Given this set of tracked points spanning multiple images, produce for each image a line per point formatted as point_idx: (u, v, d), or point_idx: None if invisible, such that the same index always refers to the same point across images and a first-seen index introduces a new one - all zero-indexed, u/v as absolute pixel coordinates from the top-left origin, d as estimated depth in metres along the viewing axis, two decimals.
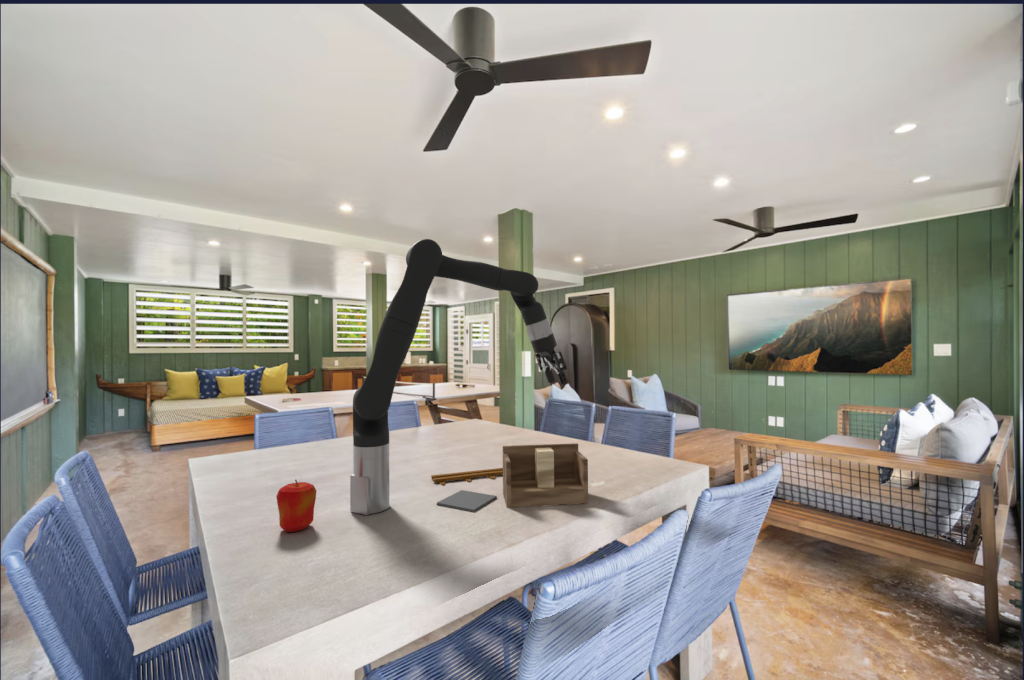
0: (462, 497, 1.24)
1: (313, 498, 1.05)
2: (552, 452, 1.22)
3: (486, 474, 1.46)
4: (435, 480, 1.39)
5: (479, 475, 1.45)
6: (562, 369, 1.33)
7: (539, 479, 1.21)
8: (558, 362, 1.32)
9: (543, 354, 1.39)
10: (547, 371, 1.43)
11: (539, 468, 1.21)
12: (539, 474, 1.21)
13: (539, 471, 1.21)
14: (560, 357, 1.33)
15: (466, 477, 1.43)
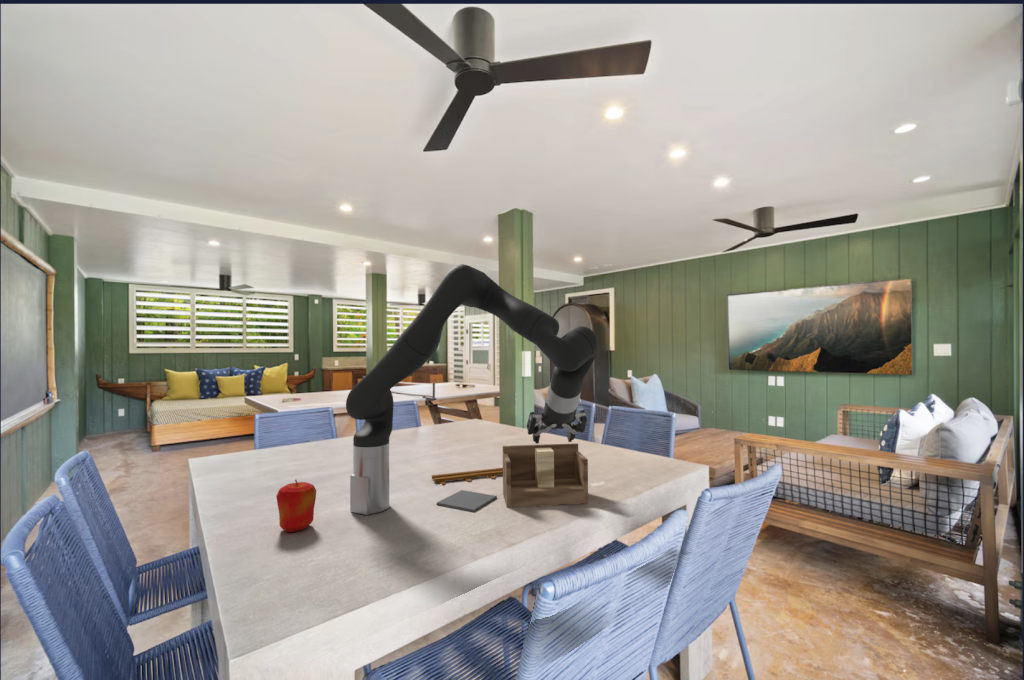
0: (462, 497, 1.24)
1: (313, 498, 1.05)
2: (552, 452, 1.22)
3: (486, 474, 1.46)
4: (435, 480, 1.39)
5: (479, 475, 1.45)
6: (527, 427, 1.09)
7: (539, 479, 1.21)
8: (528, 420, 1.07)
9: None
10: None
11: (539, 468, 1.21)
12: (539, 474, 1.21)
13: (539, 471, 1.21)
14: (530, 421, 1.06)
15: (466, 477, 1.43)
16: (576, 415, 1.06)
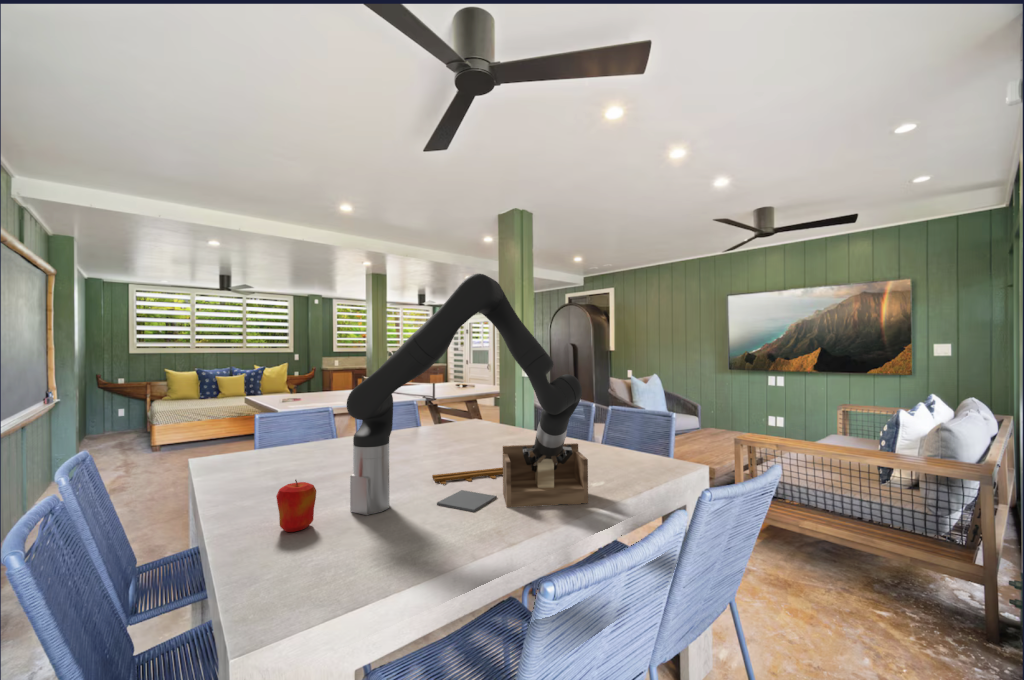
0: (462, 497, 1.24)
1: (313, 498, 1.05)
2: None
3: (487, 474, 1.46)
4: (436, 480, 1.40)
5: (480, 475, 1.45)
6: None
7: (539, 479, 1.21)
8: None
9: None
10: None
11: (539, 468, 1.21)
12: (539, 474, 1.21)
13: (539, 471, 1.21)
14: None
15: (467, 477, 1.44)
16: (564, 448, 1.19)
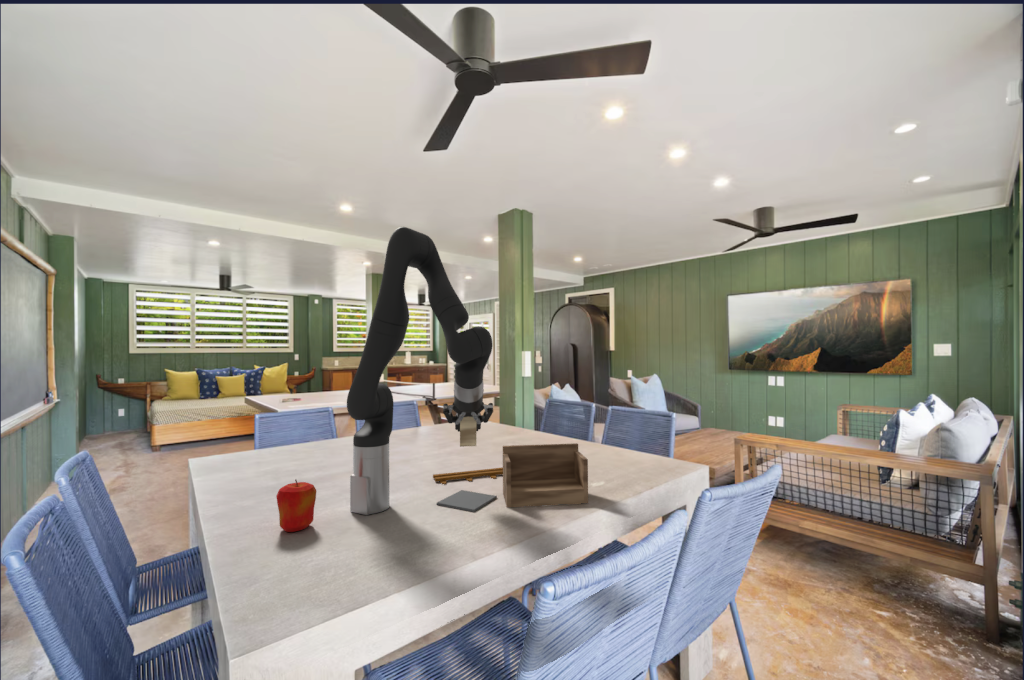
0: (462, 497, 1.24)
1: (313, 498, 1.05)
2: None
3: (487, 473, 1.46)
4: (436, 479, 1.40)
5: (480, 474, 1.46)
6: None
7: (461, 437, 1.21)
8: None
9: None
10: None
11: (461, 426, 1.21)
12: (461, 432, 1.21)
13: (461, 429, 1.21)
14: None
15: (467, 476, 1.44)
16: (485, 406, 1.18)
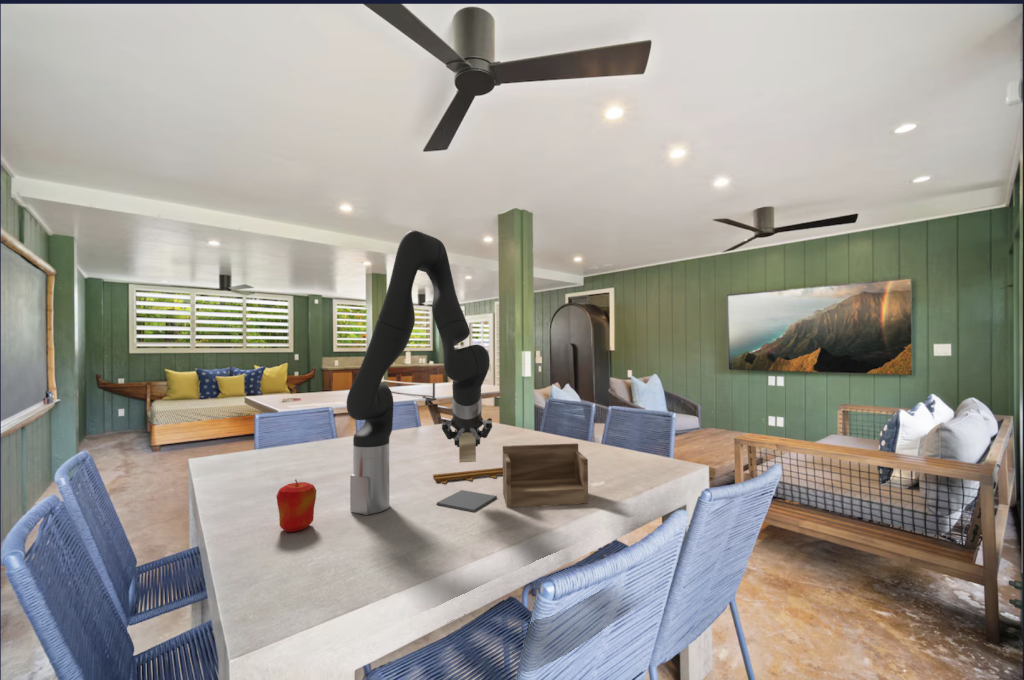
0: (462, 497, 1.24)
1: (313, 498, 1.05)
2: None
3: (487, 473, 1.46)
4: (437, 479, 1.40)
5: (480, 474, 1.46)
6: None
7: (460, 453, 1.20)
8: None
9: None
10: None
11: (460, 442, 1.20)
12: (460, 448, 1.20)
13: (460, 445, 1.20)
14: None
15: (467, 476, 1.44)
16: (483, 421, 1.18)
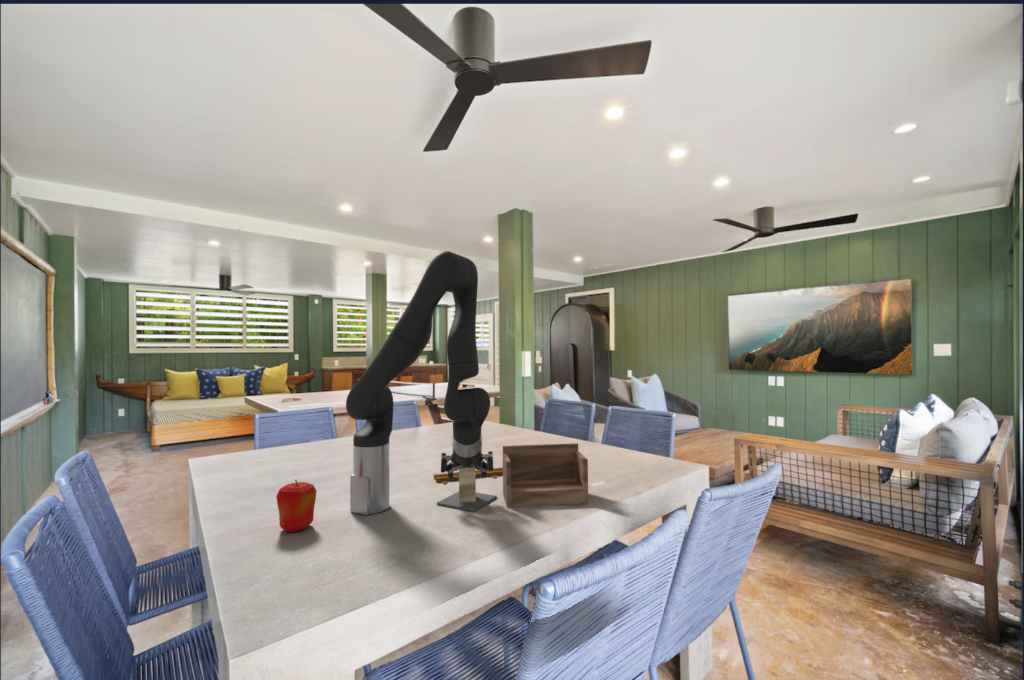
0: None
1: (313, 498, 1.05)
2: None
3: (488, 473, 1.47)
4: (437, 479, 1.40)
5: None
6: None
7: (460, 493, 1.20)
8: None
9: None
10: None
11: (460, 482, 1.20)
12: (460, 488, 1.20)
13: (460, 485, 1.20)
14: None
15: None
16: (483, 456, 1.17)
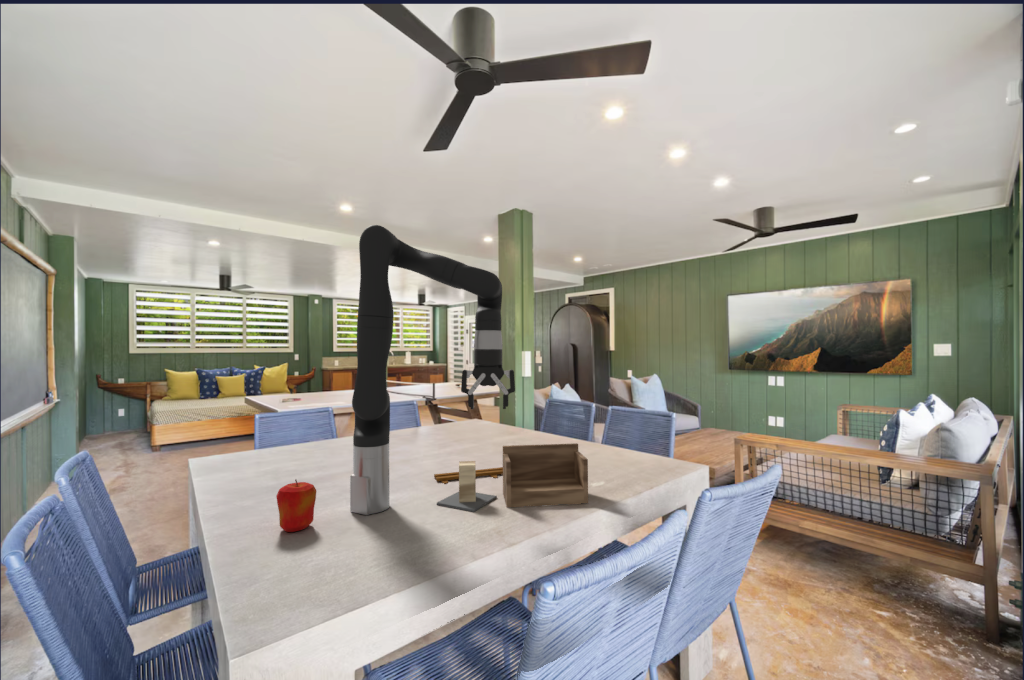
0: None
1: (313, 498, 1.05)
2: (474, 466, 1.21)
3: (488, 473, 1.47)
4: (438, 479, 1.41)
5: (481, 474, 1.46)
6: None
7: (460, 493, 1.20)
8: None
9: None
10: None
11: (460, 482, 1.20)
12: (460, 488, 1.20)
13: (460, 485, 1.20)
14: (462, 376, 1.17)
15: None
16: None
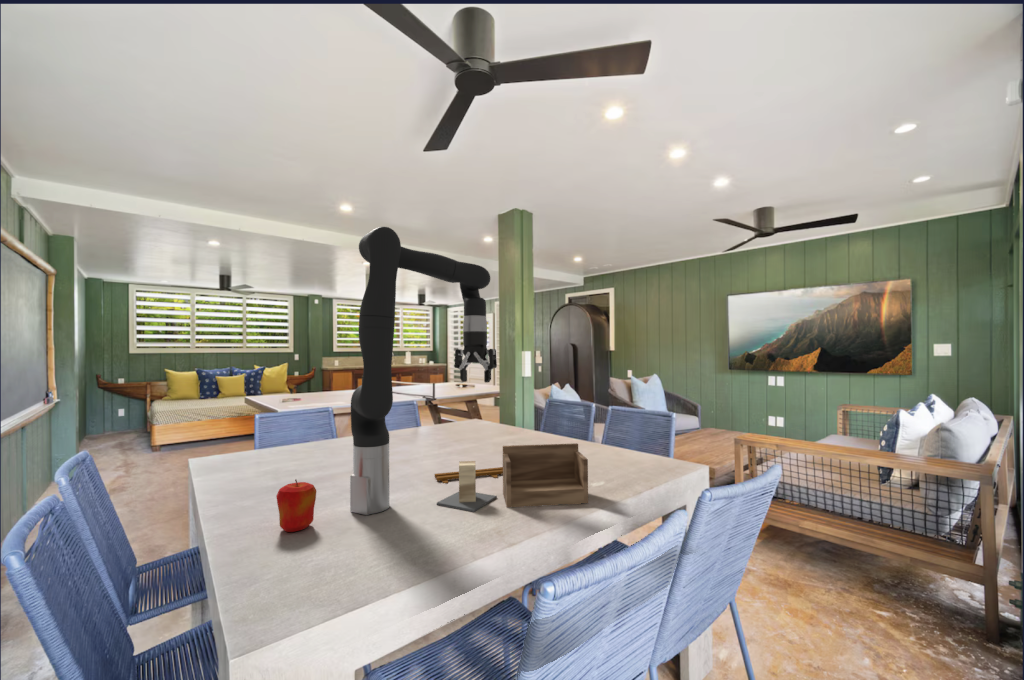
0: None
1: (313, 498, 1.05)
2: (474, 466, 1.21)
3: (489, 473, 1.47)
4: (438, 478, 1.41)
5: (482, 474, 1.46)
6: None
7: (460, 493, 1.20)
8: None
9: None
10: None
11: (460, 482, 1.20)
12: (460, 488, 1.20)
13: (460, 485, 1.20)
14: None
15: None
16: (486, 349, 1.37)
